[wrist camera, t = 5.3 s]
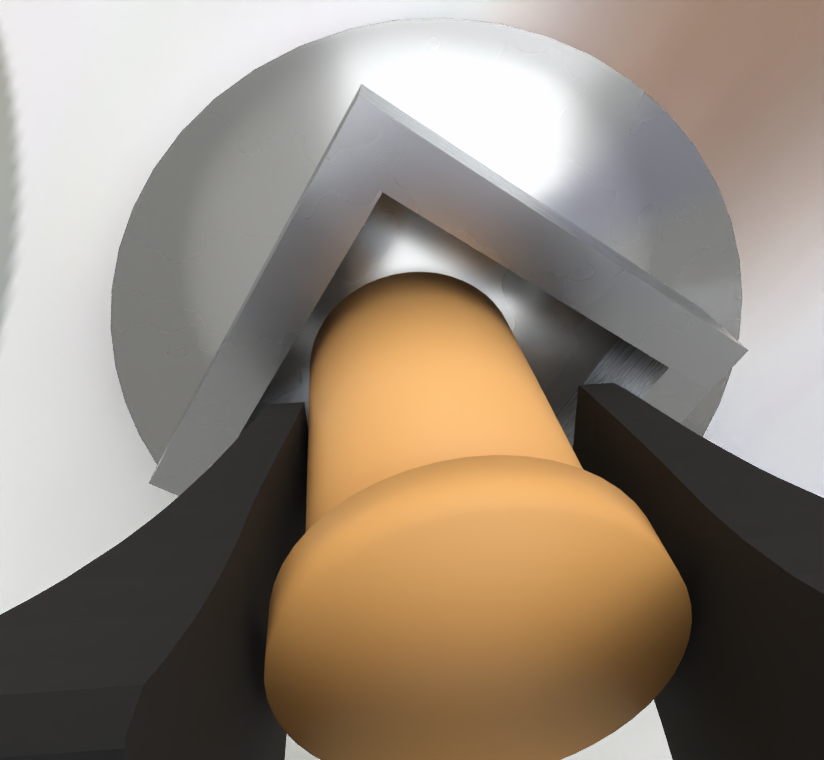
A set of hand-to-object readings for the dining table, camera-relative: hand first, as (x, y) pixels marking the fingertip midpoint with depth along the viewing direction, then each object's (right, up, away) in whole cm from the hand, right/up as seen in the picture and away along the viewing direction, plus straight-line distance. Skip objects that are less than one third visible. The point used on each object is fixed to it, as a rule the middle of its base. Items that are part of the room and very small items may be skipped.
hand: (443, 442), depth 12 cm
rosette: (+3, 0, +4) cm, 5 cm away
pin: (-1, +1, +1) cm, 2 cm away
